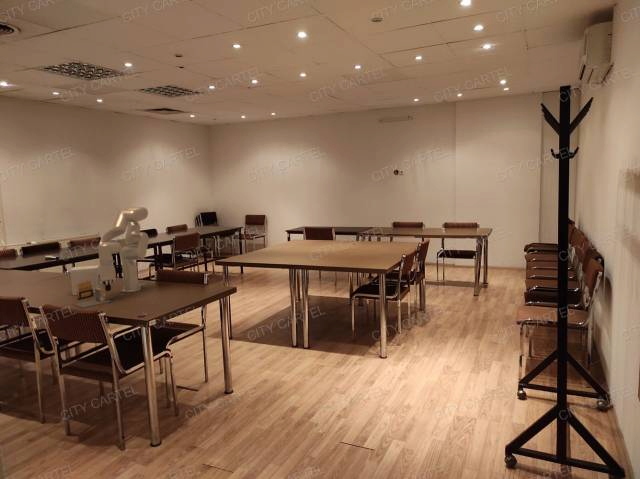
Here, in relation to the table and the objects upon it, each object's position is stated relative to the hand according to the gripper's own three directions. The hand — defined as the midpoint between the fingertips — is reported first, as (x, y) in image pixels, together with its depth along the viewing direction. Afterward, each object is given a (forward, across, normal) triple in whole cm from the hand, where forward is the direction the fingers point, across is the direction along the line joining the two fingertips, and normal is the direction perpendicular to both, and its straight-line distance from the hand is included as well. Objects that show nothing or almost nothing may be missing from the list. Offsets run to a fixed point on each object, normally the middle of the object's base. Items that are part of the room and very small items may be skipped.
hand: (108, 290), depth 300 cm
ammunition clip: (+6, +6, -20) cm, 22 cm away
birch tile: (+6, +5, 0) cm, 8 cm away
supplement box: (+6, -2, -36) cm, 37 cm away
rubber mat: (+6, +10, 0) cm, 12 cm away
